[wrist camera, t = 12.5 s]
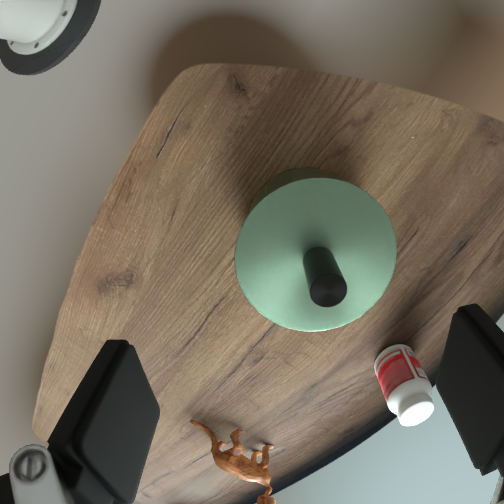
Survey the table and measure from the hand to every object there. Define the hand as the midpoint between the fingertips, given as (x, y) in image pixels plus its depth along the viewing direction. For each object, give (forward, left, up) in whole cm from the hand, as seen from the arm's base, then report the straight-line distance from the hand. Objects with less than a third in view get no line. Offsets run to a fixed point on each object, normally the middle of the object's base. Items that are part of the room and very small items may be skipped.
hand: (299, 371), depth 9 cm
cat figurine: (+40, -10, -28) cm, 50 cm away
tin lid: (+4, +3, -18) cm, 19 cm away
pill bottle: (+25, +15, -28) cm, 40 cm away
